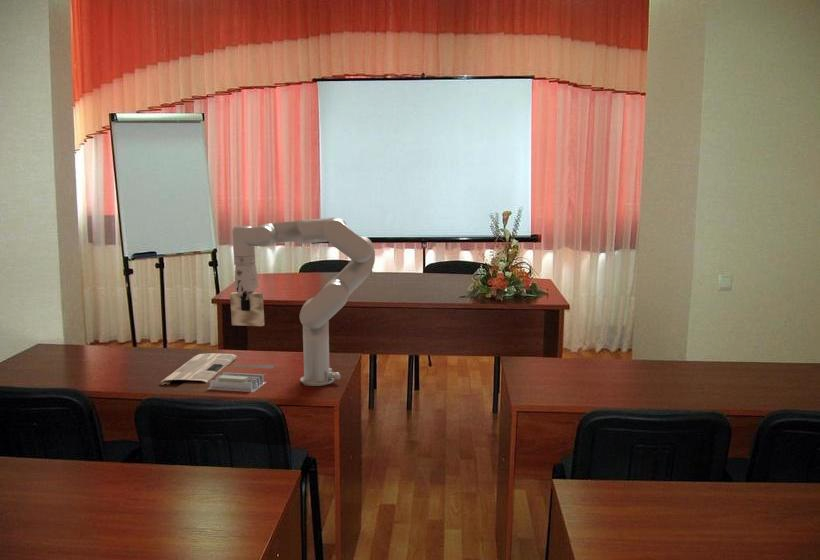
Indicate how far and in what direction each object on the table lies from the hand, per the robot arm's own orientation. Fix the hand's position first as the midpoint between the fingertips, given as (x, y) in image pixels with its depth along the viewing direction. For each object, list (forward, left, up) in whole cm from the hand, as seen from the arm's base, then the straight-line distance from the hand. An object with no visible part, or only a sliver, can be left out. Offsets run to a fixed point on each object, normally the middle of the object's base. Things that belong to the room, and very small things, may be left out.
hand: (247, 309), depth 276 cm
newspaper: (+27, -11, -29) cm, 41 cm away
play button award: (+6, -10, -29) cm, 31 cm away
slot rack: (+2, +7, -28) cm, 29 cm away
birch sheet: (0, 0, -6) cm, 6 cm away
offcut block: (+2, +10, -27) cm, 29 cm away
